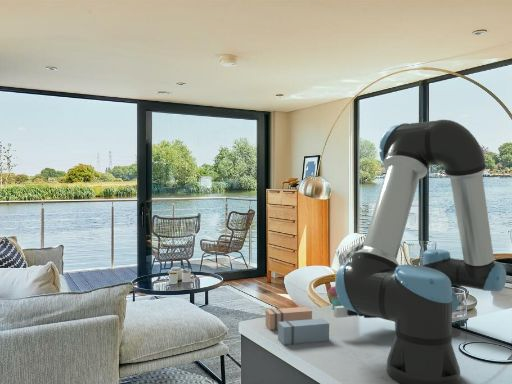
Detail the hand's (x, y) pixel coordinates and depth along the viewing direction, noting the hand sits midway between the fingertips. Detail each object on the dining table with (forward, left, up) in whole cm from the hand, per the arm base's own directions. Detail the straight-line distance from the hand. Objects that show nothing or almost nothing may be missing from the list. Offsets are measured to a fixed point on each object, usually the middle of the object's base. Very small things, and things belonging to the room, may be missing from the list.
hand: (335, 312), depth 121 cm
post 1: (+8, +9, -4) cm, 13 cm away
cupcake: (+29, +3, -7) cm, 30 cm away
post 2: (-2, +2, -4) cm, 5 cm away
